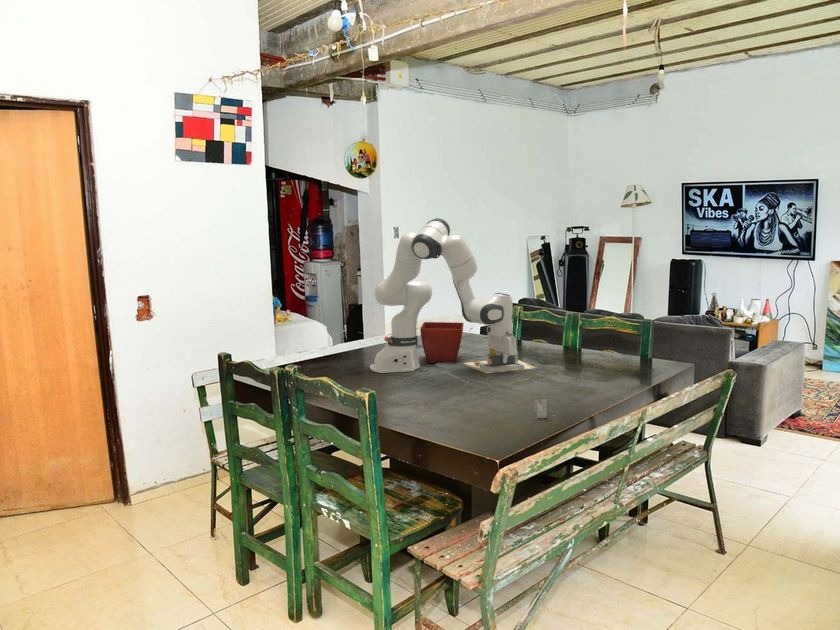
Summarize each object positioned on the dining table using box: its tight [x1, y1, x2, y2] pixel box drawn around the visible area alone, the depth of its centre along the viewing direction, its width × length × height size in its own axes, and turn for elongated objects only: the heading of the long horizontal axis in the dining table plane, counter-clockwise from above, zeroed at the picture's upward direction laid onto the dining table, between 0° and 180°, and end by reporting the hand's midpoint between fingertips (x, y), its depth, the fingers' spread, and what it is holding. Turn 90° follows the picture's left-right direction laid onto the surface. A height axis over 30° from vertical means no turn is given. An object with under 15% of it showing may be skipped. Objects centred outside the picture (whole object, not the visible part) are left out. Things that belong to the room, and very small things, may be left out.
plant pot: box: [419, 321, 464, 364], centre depth 313 cm, size 19×19×17 cm
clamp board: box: [462, 359, 538, 374], centre depth 298 cm, size 26×22×3 cm
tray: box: [480, 362, 525, 373], centre depth 293 cm, size 17×9×2 cm, turn 112°
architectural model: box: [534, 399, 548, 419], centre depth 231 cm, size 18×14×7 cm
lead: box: [486, 355, 517, 367], centre depth 292 cm, size 13×3×4 cm, turn 112°
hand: (501, 361), depth 292 cm, fingers closed on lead, 3 cm apart
